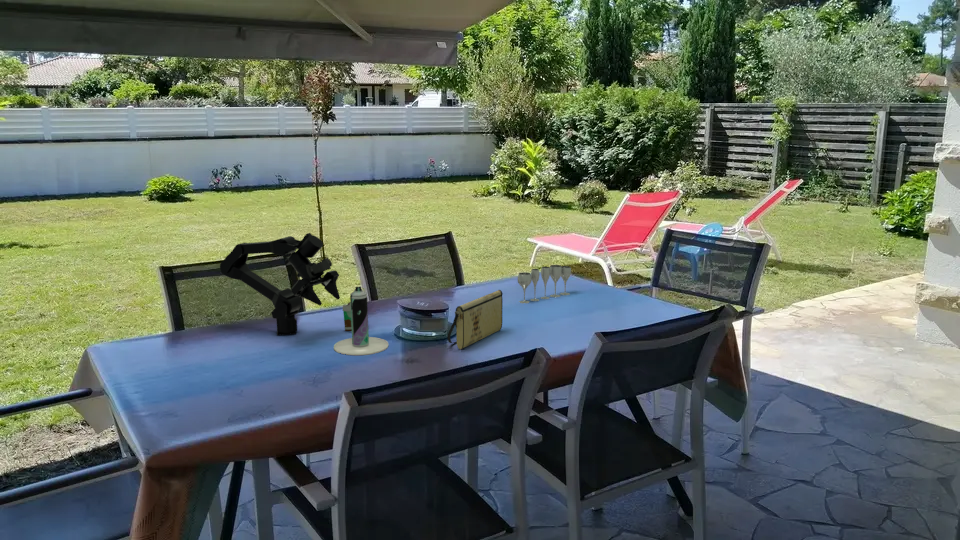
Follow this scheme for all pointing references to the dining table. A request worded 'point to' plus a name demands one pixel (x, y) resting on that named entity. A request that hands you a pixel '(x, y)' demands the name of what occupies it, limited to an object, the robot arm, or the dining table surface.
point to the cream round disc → (373, 347)
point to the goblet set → (544, 278)
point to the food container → (347, 317)
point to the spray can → (359, 318)
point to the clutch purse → (477, 319)
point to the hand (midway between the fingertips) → (330, 301)
